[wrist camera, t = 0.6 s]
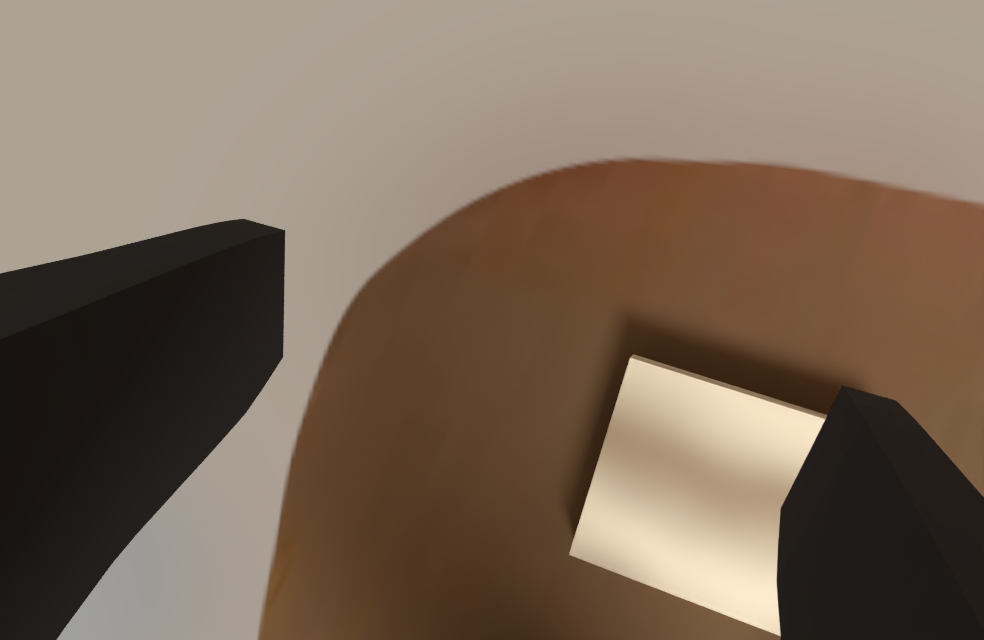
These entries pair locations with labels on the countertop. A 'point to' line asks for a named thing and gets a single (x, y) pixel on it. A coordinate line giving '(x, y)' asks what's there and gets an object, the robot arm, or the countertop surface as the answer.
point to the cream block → (695, 489)
